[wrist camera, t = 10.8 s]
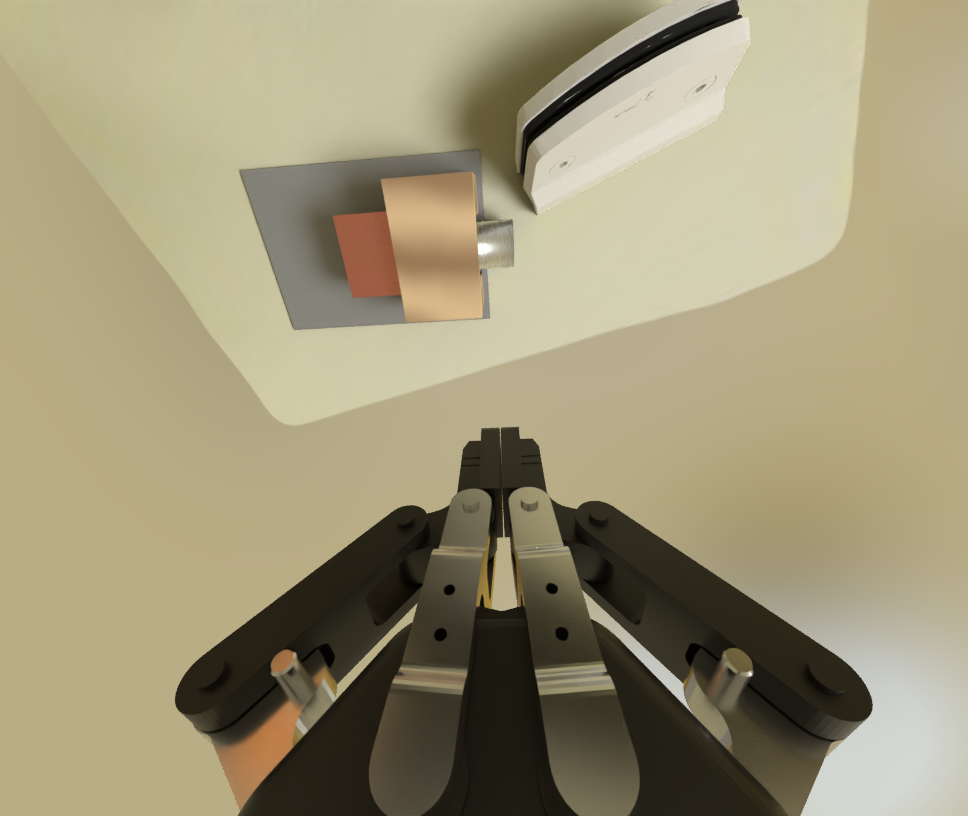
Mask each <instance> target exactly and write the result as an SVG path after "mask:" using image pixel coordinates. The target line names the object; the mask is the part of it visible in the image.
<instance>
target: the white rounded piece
mask: <svg viewBox="0 0 968 816" xmlns="http://www.w3.org/2000/svg"><path fill="white" fill-rule="evenodd" d="M741 1H742V0H676V1H674V2H672V3H670V4H668V5H666V6H664V7H662V8H660V9H658V10H656V11H654V12H652V13H650V14H649V15H647V16H645V17H644V18H642V19H640V20H638V21H637V22H635V23H633V24H632V25H630V26H628V27H626V28H625V29H623V30H622V31H620V32H618V33H617V34H615V35H614V36H612V37H611V38H609V39H608V40H606V41H605V42H603V43H602V44H600V45H599V46H597V47H596V48H594V49H593V50H592V51H590V52H589V53H588V54H586V55H585V56H583V57H582V58H581V59H579V60H578V61H576V62H575V63H574V64H572V65H571V66H570V67H568V68H567V69H566V70H564V71H563V72H562V73H561V74H559V75H558V76H557V77H555V78H554V79H553V80H552V81H551V82H549V83H548V84H547V85H546V86H545V87H543V88H542V89H541V90H540V91H539V92H538V93H536V94H535V95H534V96H533V97H532V98H531V99H530V100H529V101H527V102H526V103H525V104H524V105H523V106H522V107H521V109H520V110H519V112H518V114H517V129H516V148H515V162H516V168H517V174H518V173H520V172H521V174H522V175H524V174H525V176H524V185H523V189H524V190H525V192H526V193H527V195H528V197H529V198H530V200H531V201H532V203H533V205H534V209H535V212H536V214H537V215H539V214H541V213H542V212H544V211H546V210H548V209H550V208H552V207H554V206H556V205H558V204H559V203H561V202H563V201H565V200H567V199H569V198H571V197H573V196H575V195H576V194H578V193H580V192H582V191H584V190H586V189H588V188H590V187H592V186H594V185H595V184H597V183H599V182H601V181H603V180H605V179H607V178H609V177H611V176H612V175H614V174H616V173H618V172H620V171H622V170H624V169H626V168H628V167H629V166H631V165H633V164H635V163H637V162H639V161H641V160H643V159H645V158H646V157H648V156H650V155H652V154H654V153H656V152H658V151H660V150H662V149H663V148H665V147H667V146H669V145H671V144H673V143H675V142H677V141H679V140H680V139H682V138H684V137H686V136H688V135H690V134H692V133H694V132H696V131H697V130H699V129H701V128H703V127H705V126H707V125H709V124H711V123H713V122H714V121H715V120H716V118H717V117H718V116H719V115H720V113H721V112H722V110H723V105H724V94H725V87H726V85H727V84H728V82H729V80H730V78H731V76H732V75H733V73H734V71H735V69H736V68H737V66H738V64H739V62H740V61H741V59H742V57H743V55H744V53H745V52H746V50H747V48H748V46H749V45H750V27H749V19H748V18H747V17H744V18H742V15H737V14H738V12H739V6H740V3H741Z"/></svg>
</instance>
